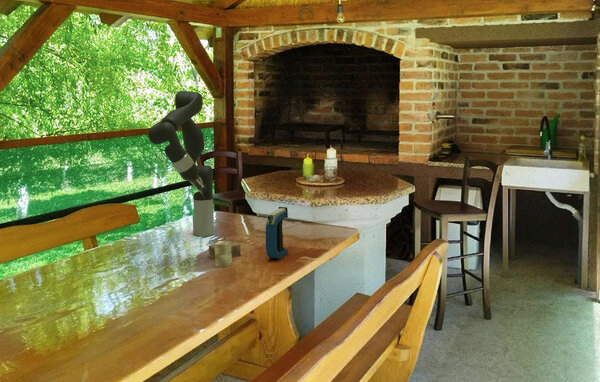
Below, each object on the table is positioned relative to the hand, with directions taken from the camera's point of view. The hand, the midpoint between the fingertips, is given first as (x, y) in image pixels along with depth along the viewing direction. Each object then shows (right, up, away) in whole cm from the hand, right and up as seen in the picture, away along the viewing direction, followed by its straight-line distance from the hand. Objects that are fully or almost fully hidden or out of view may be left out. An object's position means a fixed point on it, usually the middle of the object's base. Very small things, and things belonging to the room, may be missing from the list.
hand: (207, 197), depth 257 cm
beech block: (+7, -27, -7) cm, 29 cm away
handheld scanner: (+28, -25, +4) cm, 38 cm away
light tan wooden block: (+1, -23, +2) cm, 23 cm away
